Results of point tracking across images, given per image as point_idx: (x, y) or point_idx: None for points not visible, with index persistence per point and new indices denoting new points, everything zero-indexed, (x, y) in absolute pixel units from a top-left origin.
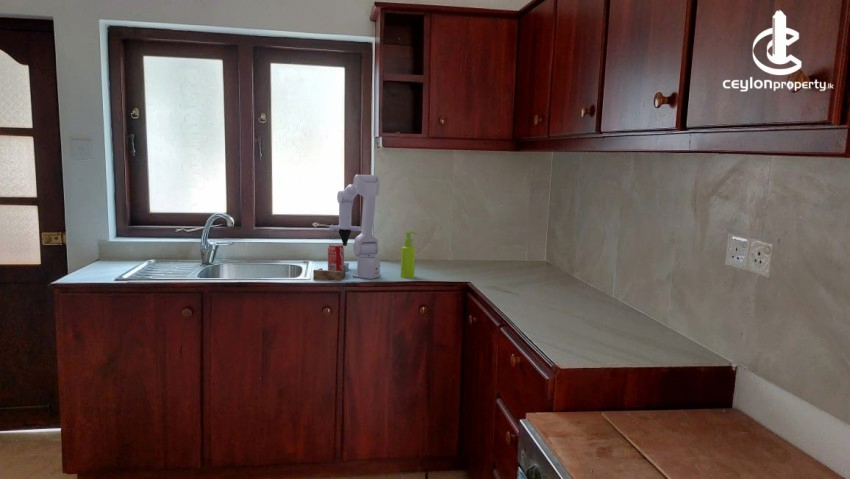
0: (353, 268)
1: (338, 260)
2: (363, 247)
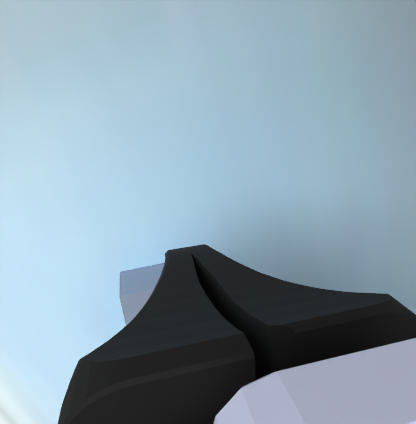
0: (240, 228)
1: None
2: None
